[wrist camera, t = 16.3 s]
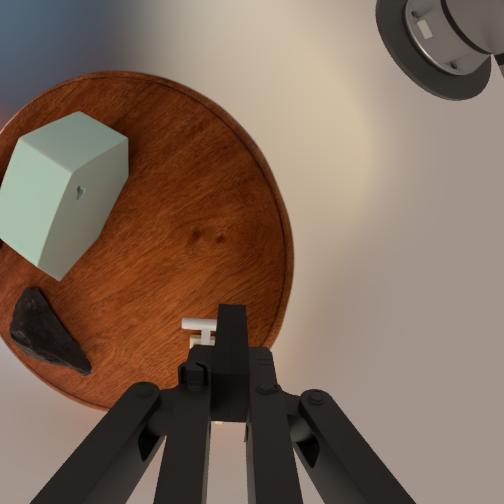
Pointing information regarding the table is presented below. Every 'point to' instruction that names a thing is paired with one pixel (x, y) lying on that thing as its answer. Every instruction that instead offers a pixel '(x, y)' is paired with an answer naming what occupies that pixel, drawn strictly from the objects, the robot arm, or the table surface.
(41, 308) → the rock
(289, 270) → the table surface
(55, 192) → the planter
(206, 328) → the faucet handle
